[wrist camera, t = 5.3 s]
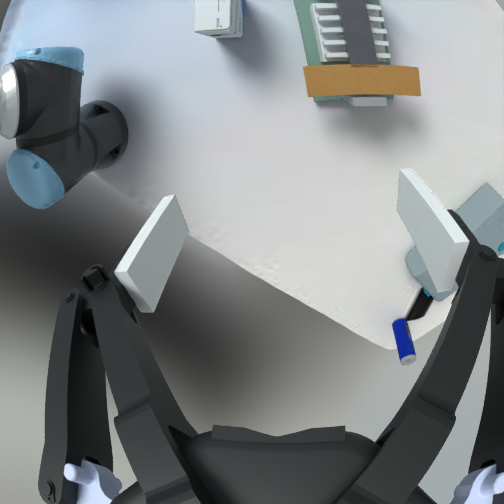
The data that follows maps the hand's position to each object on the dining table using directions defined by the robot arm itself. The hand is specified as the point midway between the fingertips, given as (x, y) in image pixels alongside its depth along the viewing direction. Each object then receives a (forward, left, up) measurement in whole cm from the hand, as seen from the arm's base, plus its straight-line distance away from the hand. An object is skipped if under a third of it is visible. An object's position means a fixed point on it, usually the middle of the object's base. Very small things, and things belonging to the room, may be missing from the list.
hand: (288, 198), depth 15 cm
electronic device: (+40, -33, -35) cm, 62 cm away
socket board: (+12, +12, -35) cm, 39 cm away
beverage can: (+29, -66, -35) cm, 80 cm away
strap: (+12, +12, -27) cm, 32 cm away
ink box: (-6, +18, -35) cm, 40 cm away
